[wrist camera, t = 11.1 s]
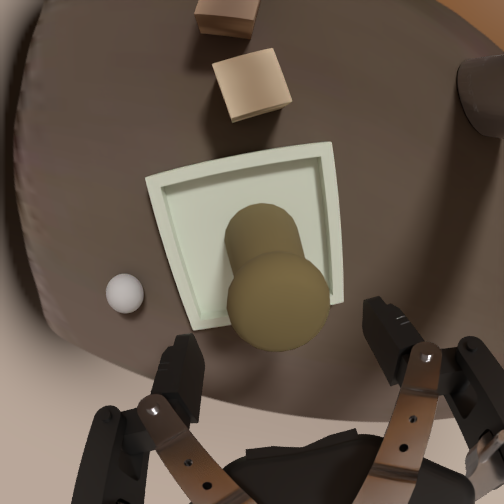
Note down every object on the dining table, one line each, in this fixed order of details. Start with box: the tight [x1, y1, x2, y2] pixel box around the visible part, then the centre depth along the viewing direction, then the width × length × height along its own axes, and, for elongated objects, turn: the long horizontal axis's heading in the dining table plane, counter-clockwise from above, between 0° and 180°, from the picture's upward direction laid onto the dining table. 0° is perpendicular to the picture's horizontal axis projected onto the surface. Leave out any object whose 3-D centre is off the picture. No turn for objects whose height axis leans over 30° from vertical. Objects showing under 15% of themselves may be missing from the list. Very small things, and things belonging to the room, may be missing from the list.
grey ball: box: [106, 274, 144, 313], centre depth 22 cm, size 4×4×4 cm
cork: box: [224, 203, 330, 352], centre depth 17 cm, size 6×6×11 cm
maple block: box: [212, 48, 292, 123], centre depth 16 cm, size 4×4×4 cm
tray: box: [145, 142, 344, 330], centre depth 22 cm, size 14×14×2 cm
